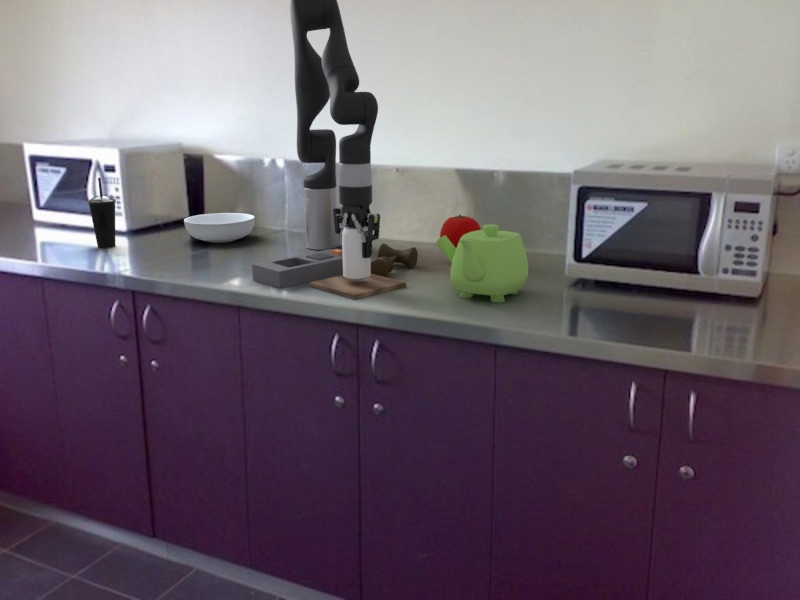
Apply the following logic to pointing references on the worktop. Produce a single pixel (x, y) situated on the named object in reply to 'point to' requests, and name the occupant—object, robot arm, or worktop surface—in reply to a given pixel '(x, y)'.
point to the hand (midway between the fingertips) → (356, 255)
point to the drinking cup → (103, 219)
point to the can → (354, 255)
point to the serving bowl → (219, 226)
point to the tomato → (458, 228)
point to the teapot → (487, 262)
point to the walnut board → (357, 285)
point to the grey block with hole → (299, 268)
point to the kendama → (392, 259)
